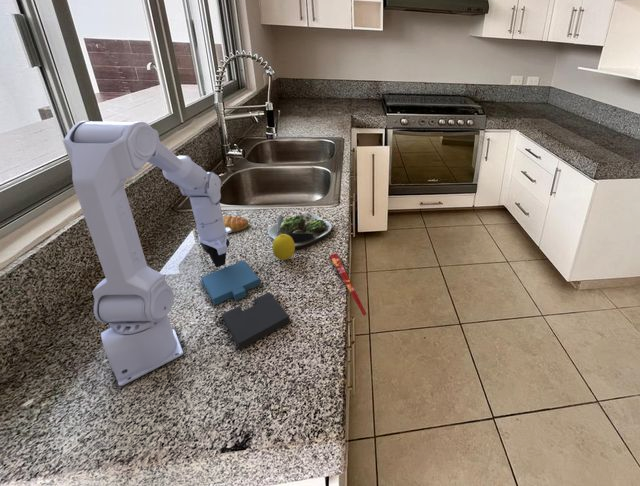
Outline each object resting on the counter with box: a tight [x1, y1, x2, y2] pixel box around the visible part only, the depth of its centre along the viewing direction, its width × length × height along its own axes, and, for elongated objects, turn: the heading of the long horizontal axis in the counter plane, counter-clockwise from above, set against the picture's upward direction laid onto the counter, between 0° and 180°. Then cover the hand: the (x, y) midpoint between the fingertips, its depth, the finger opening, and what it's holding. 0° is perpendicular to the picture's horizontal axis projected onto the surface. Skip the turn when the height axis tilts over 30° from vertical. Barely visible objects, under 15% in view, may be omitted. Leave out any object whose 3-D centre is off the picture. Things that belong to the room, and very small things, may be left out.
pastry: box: [223, 215, 249, 233], centre depth 105 cm, size 9×7×4 cm
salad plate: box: [267, 212, 333, 250], centre depth 104 cm, size 19×18×5 cm
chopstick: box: [329, 253, 367, 316], centre depth 84 cm, size 2×24×1 cm, turn 30°
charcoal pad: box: [221, 291, 291, 351], centre depth 72 cm, size 10×10×2 cm
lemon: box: [271, 234, 296, 261], centre depth 91 cm, size 6×6×8 cm
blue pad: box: [200, 259, 261, 306], centre depth 82 cm, size 10×12×2 cm
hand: (220, 264), depth 88 cm, fingers closed
